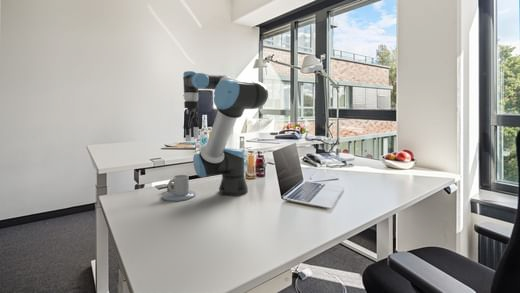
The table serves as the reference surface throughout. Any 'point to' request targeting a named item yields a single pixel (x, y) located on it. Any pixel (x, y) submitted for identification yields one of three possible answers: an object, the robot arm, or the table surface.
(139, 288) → the table surface
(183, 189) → the cup
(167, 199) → the dish
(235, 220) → the table surface
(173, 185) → the walnut block
